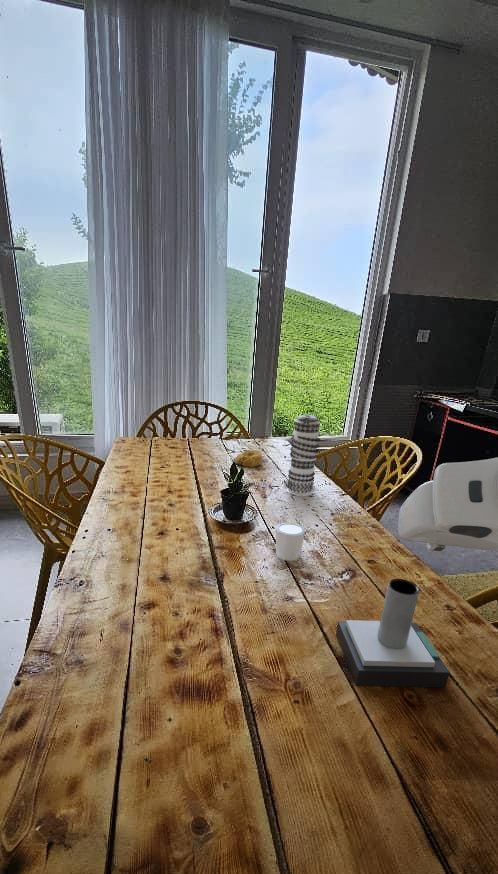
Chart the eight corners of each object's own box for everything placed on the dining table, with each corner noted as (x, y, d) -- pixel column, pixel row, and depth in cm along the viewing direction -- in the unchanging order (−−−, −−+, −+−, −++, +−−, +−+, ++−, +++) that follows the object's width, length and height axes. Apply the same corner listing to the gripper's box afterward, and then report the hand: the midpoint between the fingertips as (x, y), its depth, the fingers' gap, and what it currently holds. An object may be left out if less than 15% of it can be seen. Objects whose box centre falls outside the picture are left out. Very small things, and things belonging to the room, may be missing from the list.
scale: (412, 636, 80) (417, 618, 78) (445, 687, 69) (451, 667, 67) (335, 634, 79) (338, 616, 78) (355, 685, 68) (360, 665, 67)
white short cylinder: (304, 562, 103) (307, 535, 100) (274, 561, 103) (277, 534, 100) (299, 548, 109) (302, 523, 107) (272, 547, 109) (274, 521, 107)
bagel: (232, 460, 178) (232, 448, 176) (259, 460, 179) (260, 448, 177) (235, 467, 169) (236, 455, 167) (264, 467, 170) (265, 455, 168)
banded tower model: (319, 493, 146) (329, 417, 137) (299, 498, 141) (308, 420, 132) (300, 484, 153) (308, 412, 144) (279, 489, 148) (287, 414, 139)
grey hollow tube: (384, 627, 75) (396, 575, 72) (411, 640, 72) (424, 586, 69) (372, 639, 72) (383, 585, 69) (398, 653, 69) (411, 598, 66)
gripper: (665, 483, 39) (570, 535, 52) (421, 461, 43) (387, 515, 55) (682, 551, 37) (577, 588, 49) (422, 522, 40) (386, 564, 53)
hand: (475, 549), depth 52 cm, fingers open, 8 cm apart
